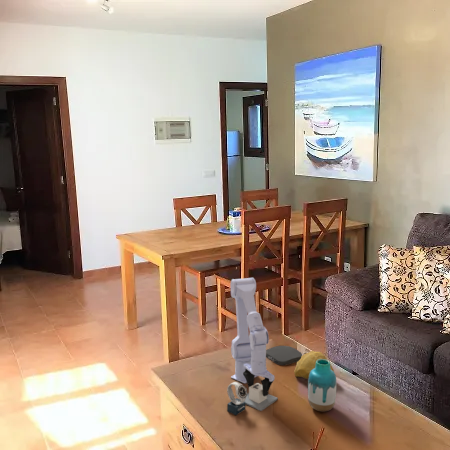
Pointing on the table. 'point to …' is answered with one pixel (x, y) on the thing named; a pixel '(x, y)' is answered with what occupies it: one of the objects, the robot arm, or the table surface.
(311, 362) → the decorative stone
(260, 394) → the letter cube
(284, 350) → the media streaming box
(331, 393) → the vase
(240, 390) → the watch
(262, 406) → the mat
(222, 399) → the table surface
